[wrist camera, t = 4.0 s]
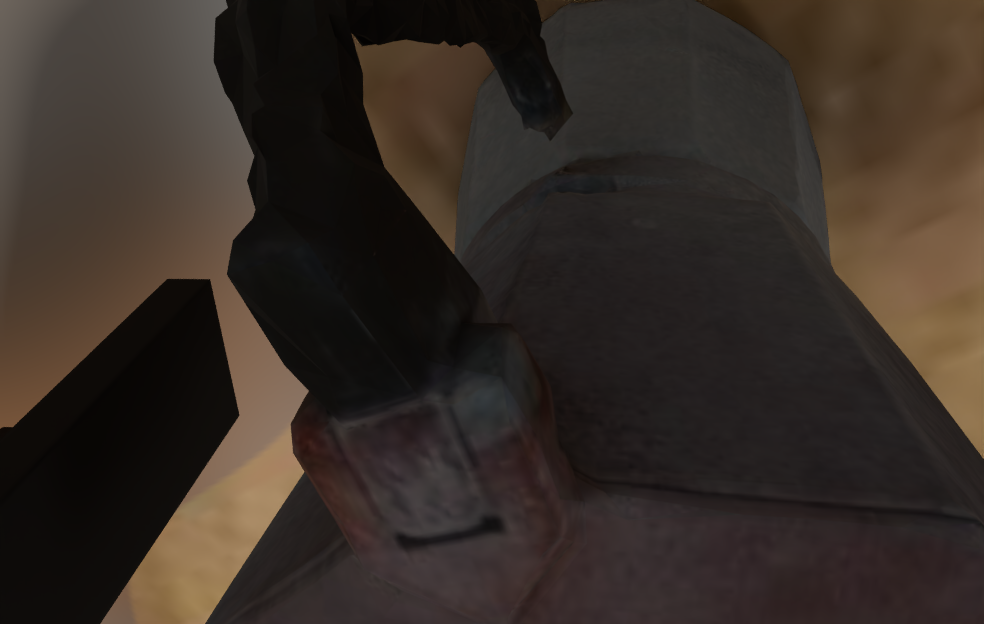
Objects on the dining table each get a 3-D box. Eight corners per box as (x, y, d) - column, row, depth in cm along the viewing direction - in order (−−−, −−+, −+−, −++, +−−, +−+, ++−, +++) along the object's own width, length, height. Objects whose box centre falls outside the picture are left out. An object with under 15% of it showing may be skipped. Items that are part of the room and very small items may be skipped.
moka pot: (572, 441, 27) (465, 1506, 10) (315, -43, 22) (-987, 450, 4) (892, 341, 24) (1550, 1624, 7) (691, -252, 19) (1528, -1542, 1)
